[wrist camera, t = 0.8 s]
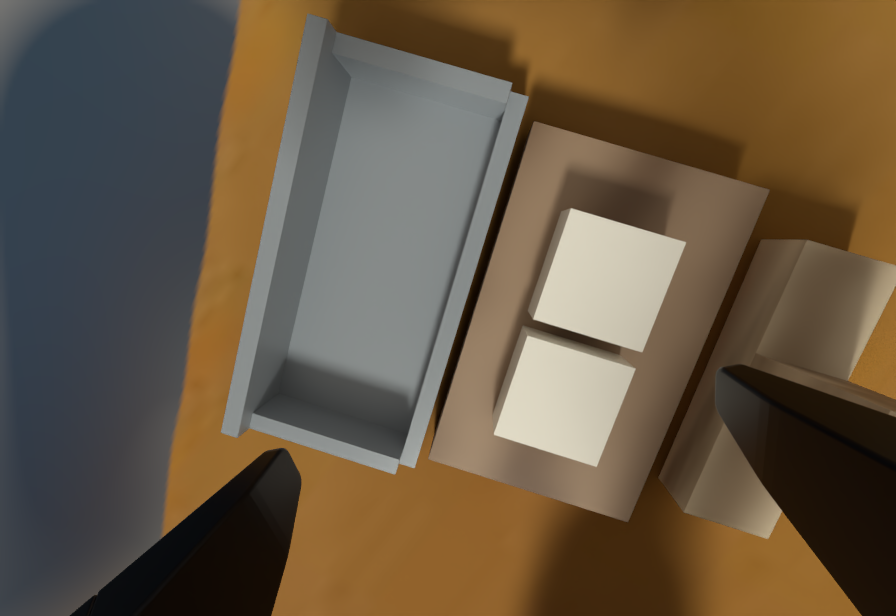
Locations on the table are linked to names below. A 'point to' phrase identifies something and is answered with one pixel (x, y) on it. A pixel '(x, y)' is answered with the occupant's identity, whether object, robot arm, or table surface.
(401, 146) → the grey tray
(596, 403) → the cream tile
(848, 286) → the beige l-shaped block
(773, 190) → the table surface
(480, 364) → the tan flat block
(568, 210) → the cream tile
